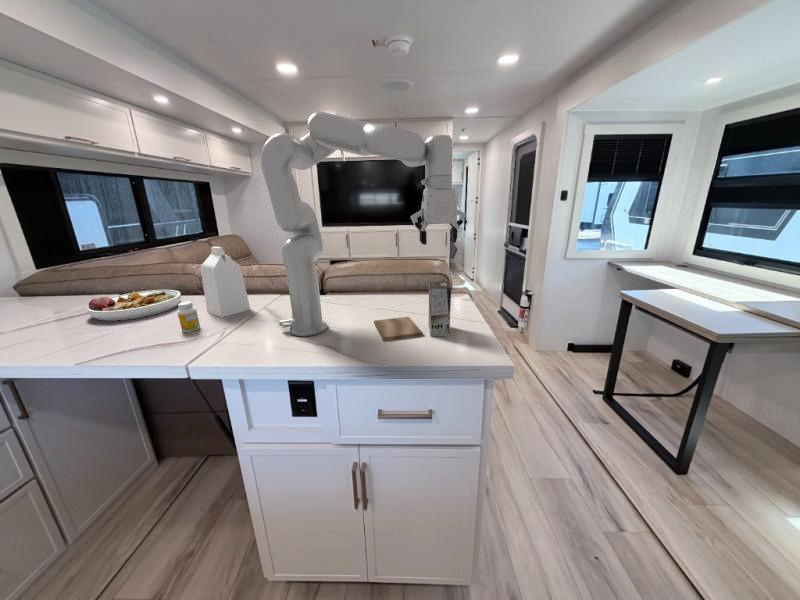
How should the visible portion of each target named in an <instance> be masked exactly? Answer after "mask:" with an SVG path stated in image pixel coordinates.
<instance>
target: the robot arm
mask: <svg viewBox="0 0 800 600" xmlns="http://www.w3.org/2000/svg"><path fill="white" fill-rule="evenodd" d="M306 126H307V133H308V134H306V135H305V136H303V137H301V138H299V137H297V136H295V135H292V134H290V133H287V132H286V133H285V132H282V133H281V132H279V133H276V134H274V135H272V136H271V137H269V138H268V140H266V142H265V143H264V145H263V147H262V150H261V152H260V165H261V166H260V167H261V171H262V175H263V177H264V182H265V184H266V188H267V192H268V196H269V199H270V202H271V207H272V211H273V214H274V218H275V220H276V223H277V225H278V227H279V229H281V230H282V231H283V232H287V233H292V237H290V238H289V239H287V240H286V241H285V242H284V244H283V245H282V247H281V252H280V253H281V259H282V263H283V266H284V269H285V274H286V279H287V285H288V291H289V301H290V307H291V315H292V316H291V318H288V319H282V320H279V324H278V325H279V326H280V327H282V328H288V327H289V328H288V329H289V333H290V334H291V335H293V336H296V337H309V336H315V335H319V334H321V333H323V332H325V331H326V330H327V329H328V323H327V322H326V321H325V320H323V314H322V305H321V304H322V303H321V296H320V295H321V294H320V285H319V277H318V273H317V269H316V265H315V261H317V260H318V259H319V258H320V257H322V254H323V252H324V243H323V239H322V235H321V230H320V226H319V222H318V218H317V215H316V213H315V210H314V209H313V207H312V206H311V205H310V204H309V203H307V202H305V201H302V200H301V196H300V192H299V189H298V184H297V182H296V179H295V178H294V177H295V176H294V175H293V173H292V169H295V170H299V171H305V170H308V169H311V168H312V167H314V166H315V165H317V164H319V163H320V162H322V161H324V160H325V159H326V158H327V157H329V156H331V155H332V154H334V153H335V152H336V151H342V152H345V153H349V154H354V155H358V156H363V157H364V156H381V157H385V158H389V159H394V160H397V161H401V162H402V163H403V165H405V166H406V167H410V168H414V167H415V168H416V167H420V166H425V178H424V179H421V185H422V186H423V185H424V187H425V188H424V189H423V193H422V200H421V209H420V210H419V211H417V212H415V213H413V214H412V215H410V219H411V221H412V224H413V226H414V227H416V229H417V230H418V231H419V242H420V244H422V245H427V241H428V239H427V235H428V234H427V231H426V228H427V227H428V226H429V225H445V224H449V226H450V230H449V242H450V243H457V240H458V230H459V229H460V227H461V226H462V224H463V223H464V220H465V218H466V216H467V214H466V213H465V212H463V211H461V210H460V209H458V204H457V203H458V202H457V201H458V200H457V194H456V188H455V187H453V149H454V148H453V145H454V144H453V143H454V142H453V139H452V137H451V136H450V135H447V134H435V135H431V136H429V137H427V139H424V138H423V136H421V135H420V134H419V133H417V132H415V131H413V130H409V129H405V128H401V127H398V126H394V125H390V124H389V125H388V124H384V123H383V124H382V123H373V122H367V121H363V120H362V121H361V120H358V119H355V118H354V119H353V118H349V117H345V116H341V115H337V114H334V113H329V112H325V111H316V112H313V114H311V115H310V116H309V118H308V121H307V125H306ZM458 216H459V217H458ZM419 217H420V218H421V219H420V220H421V223H419V221H418V218H419Z"/></svg>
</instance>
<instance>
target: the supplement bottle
mask: <svg viewBox="0 0 800 600" xmlns="http://www.w3.org/2000/svg"><path fill="white" fill-rule="evenodd" d="M177 306H178V310H177V315H178V320H179V324H180V328H181V331H182V332H184V333H190V332H195V331H197V330H199V329H200V328H201V325H200V320H199V315H198V312H197V308H196V307H193V306H194V305H193V302H192V301H190V300H189V301H183V302H179V303H178V304H177ZM194 330H195V331H194Z"/></svg>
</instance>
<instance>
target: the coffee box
mask: <svg viewBox="0 0 800 600" xmlns="http://www.w3.org/2000/svg"><path fill="white" fill-rule="evenodd" d="M451 304H452V287H451V285H450V284H449V282H448V281H445V280H443V281H429V282H428V331H429V335H430V337H450V327H451V326H450V324H451Z"/></svg>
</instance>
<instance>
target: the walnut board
mask: <svg viewBox="0 0 800 600" xmlns="http://www.w3.org/2000/svg"><path fill="white" fill-rule="evenodd" d="M374 324H375V325H374ZM373 325H374V327H375V328H376V330H377V333H378V334H379V336H380V338H381V339H382V341H383V342H387V341H395V340H400V339H401V340H402V339H408V338H409V337H410V338H416V337H423V331H422V329H420V328H419V327H418V326H417V324H415V322H414V321H413V320H412V318H410V316H403V317H393V318H386V319H385V318H384V319H377V320H373ZM410 338H409V339H410Z"/></svg>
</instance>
